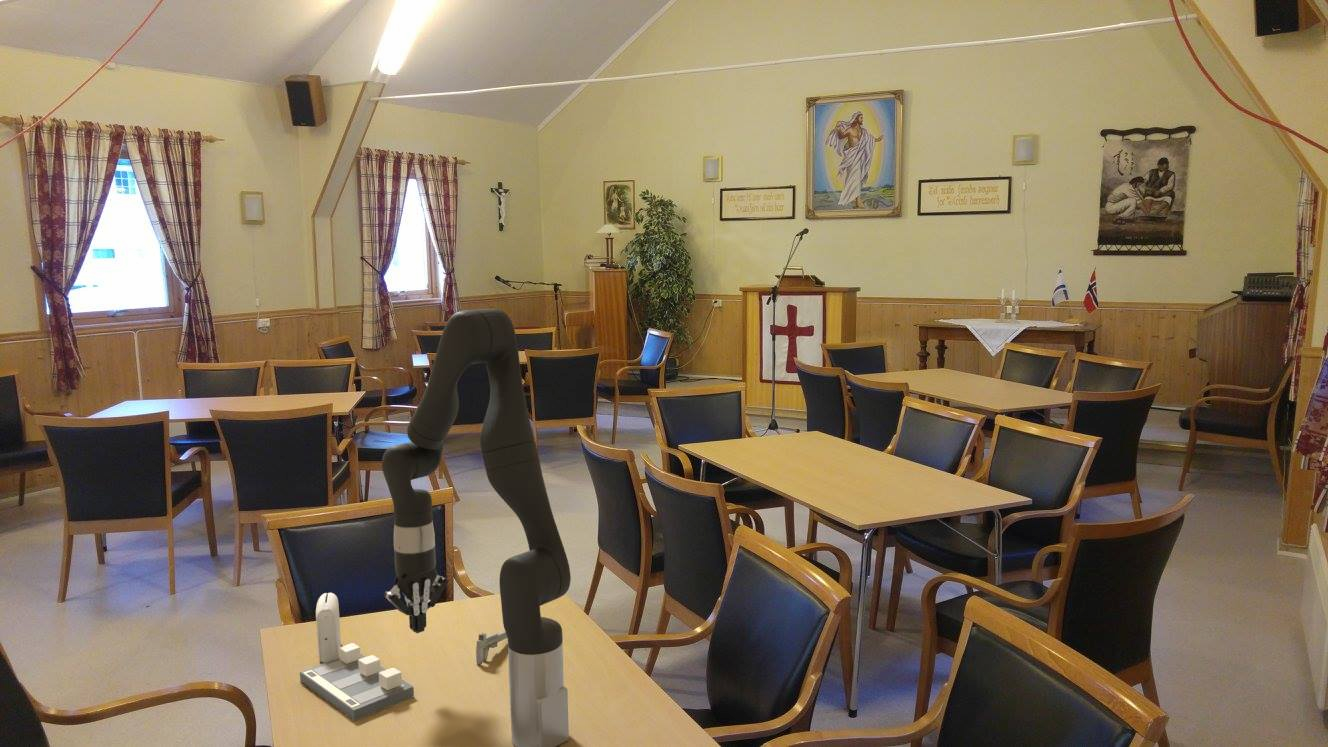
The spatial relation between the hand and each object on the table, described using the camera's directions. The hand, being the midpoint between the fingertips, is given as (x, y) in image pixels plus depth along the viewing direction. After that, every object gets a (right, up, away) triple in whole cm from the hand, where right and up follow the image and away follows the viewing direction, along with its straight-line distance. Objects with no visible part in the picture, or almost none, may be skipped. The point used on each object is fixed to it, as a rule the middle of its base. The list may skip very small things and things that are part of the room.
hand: (418, 631), depth 173 cm
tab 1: (-16, -8, +7) cm, 19 cm away
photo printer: (-23, -9, +16) cm, 30 cm away
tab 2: (-4, -9, -4) cm, 11 cm away
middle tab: (-10, -8, +2) cm, 13 cm away
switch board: (-12, -11, 0) cm, 16 cm away
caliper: (+13, -9, +19) cm, 25 cm away
